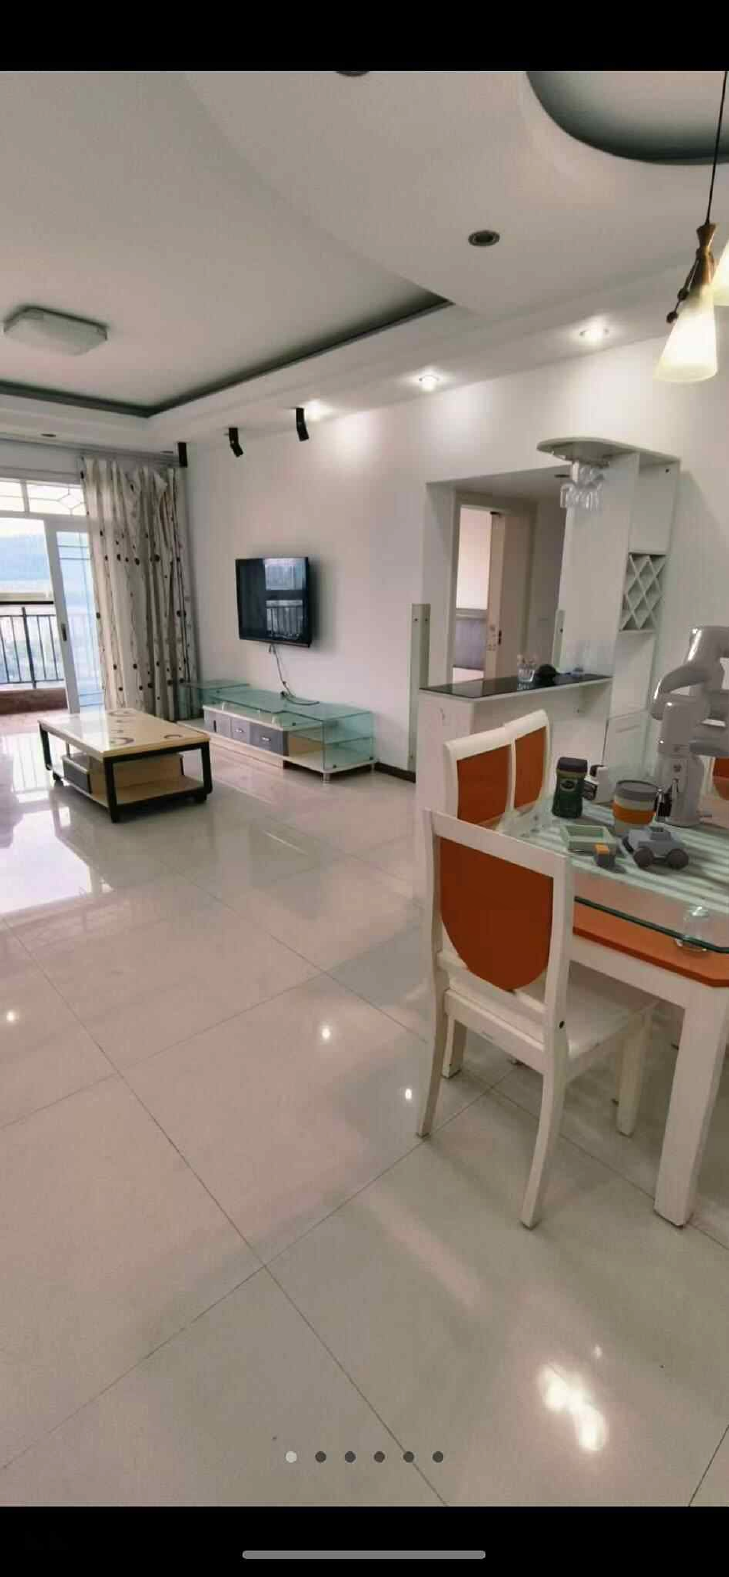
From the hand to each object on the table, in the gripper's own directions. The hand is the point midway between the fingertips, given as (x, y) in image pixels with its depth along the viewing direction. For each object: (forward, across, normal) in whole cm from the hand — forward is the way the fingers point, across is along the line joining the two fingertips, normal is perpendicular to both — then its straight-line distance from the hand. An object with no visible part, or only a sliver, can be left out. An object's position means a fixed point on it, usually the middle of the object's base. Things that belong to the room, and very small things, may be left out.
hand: (661, 813), depth 178 cm
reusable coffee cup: (+14, +17, +2) cm, 22 cm away
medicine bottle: (+14, +47, +4) cm, 49 cm away
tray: (+13, +7, +16) cm, 22 cm away
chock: (+13, -6, +15) cm, 21 cm away
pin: (+2, 0, 0) cm, 2 cm away
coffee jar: (+14, +31, +18) cm, 38 cm away
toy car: (+13, -1, 0) cm, 13 cm away
